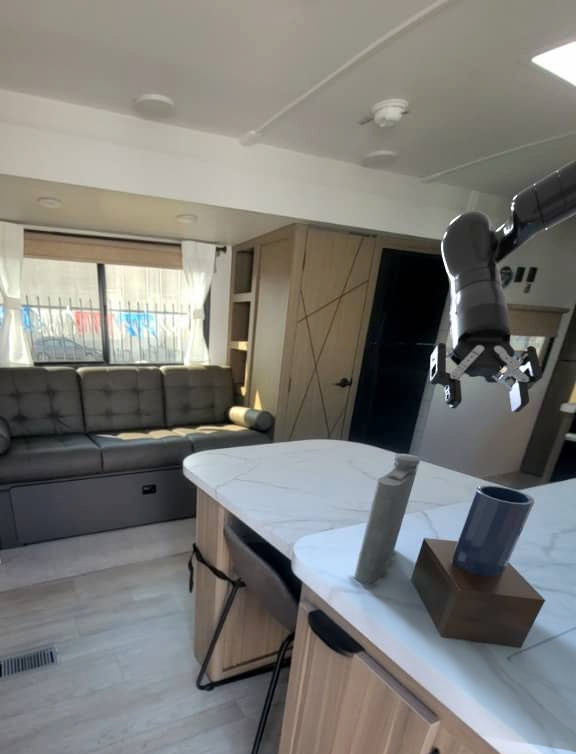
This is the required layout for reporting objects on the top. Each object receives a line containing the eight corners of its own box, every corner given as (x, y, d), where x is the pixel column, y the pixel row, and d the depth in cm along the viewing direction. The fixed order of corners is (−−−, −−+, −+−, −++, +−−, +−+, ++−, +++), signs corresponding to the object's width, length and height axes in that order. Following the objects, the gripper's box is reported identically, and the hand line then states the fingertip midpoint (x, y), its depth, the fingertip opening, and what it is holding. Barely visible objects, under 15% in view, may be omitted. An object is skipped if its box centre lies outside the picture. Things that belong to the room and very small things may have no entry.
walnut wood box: (475, 586, 67) (492, 544, 63) (521, 648, 54) (545, 600, 51) (410, 579, 68) (423, 537, 65) (441, 637, 56) (459, 589, 52)
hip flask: (377, 542, 79) (403, 442, 71) (399, 549, 77) (429, 447, 68) (351, 578, 68) (379, 465, 59) (376, 588, 66) (409, 472, 57)
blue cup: (490, 556, 60) (518, 487, 55) (511, 580, 55) (545, 506, 50) (445, 551, 61) (469, 483, 56) (462, 574, 56) (490, 501, 51)
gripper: (440, 300, 62) (447, 389, 57) (544, 302, 60) (560, 394, 55) (420, 336, 69) (424, 418, 64) (512, 339, 67) (524, 424, 62)
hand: (487, 407), depth 59 cm, fingers open, 8 cm apart
